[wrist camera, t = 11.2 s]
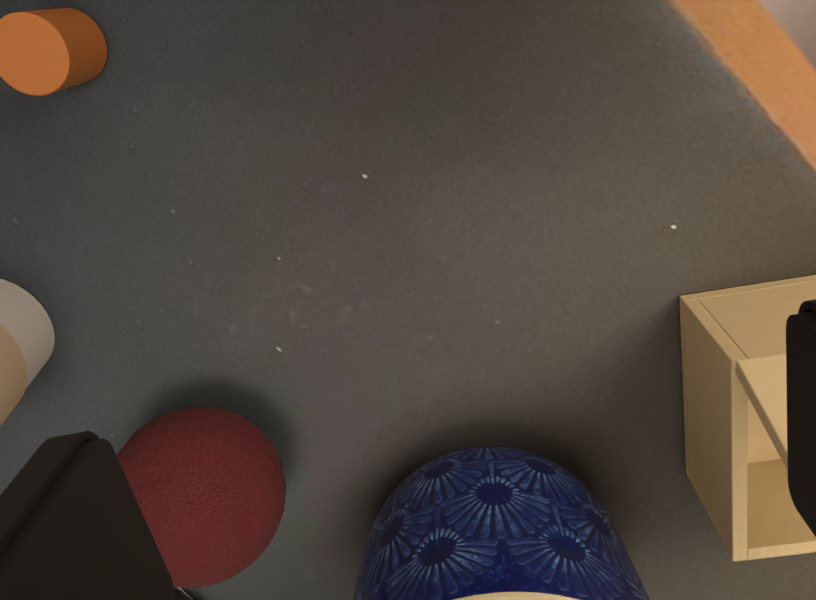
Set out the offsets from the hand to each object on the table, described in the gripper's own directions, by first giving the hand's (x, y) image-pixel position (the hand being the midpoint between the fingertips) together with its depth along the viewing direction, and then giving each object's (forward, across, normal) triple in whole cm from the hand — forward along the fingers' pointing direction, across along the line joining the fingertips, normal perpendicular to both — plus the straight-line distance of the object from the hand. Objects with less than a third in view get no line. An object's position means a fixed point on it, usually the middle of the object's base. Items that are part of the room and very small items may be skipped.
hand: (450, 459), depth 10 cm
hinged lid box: (+30, -17, +20) cm, 40 cm away
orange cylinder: (+30, +17, -7) cm, 35 cm away
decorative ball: (+31, +17, +18) cm, 40 cm away
